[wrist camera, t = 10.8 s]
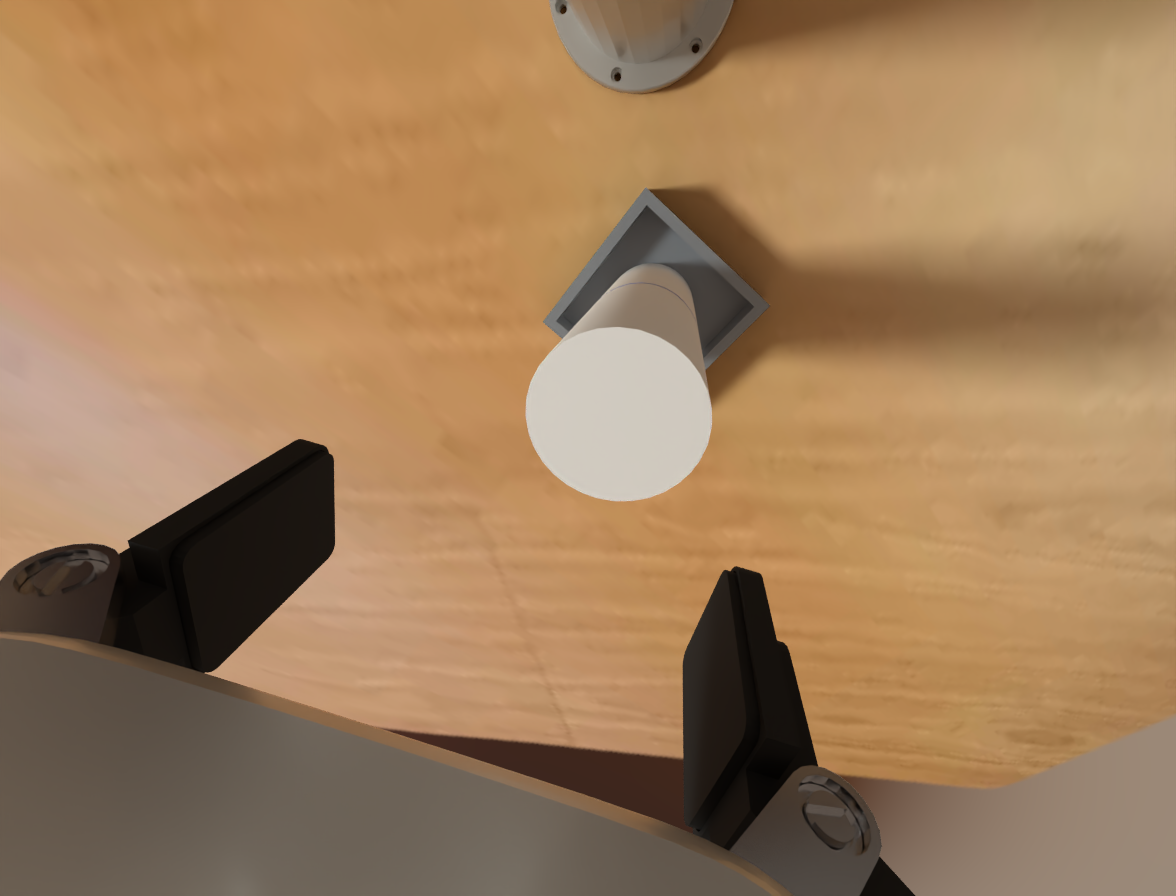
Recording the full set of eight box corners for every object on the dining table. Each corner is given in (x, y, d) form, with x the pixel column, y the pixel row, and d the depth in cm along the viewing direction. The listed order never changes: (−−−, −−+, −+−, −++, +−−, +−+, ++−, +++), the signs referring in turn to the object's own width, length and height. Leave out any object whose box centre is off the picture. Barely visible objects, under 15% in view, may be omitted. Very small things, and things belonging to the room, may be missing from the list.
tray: (648, 189, 38) (645, 187, 35) (763, 298, 40) (770, 305, 37) (552, 314, 44) (542, 321, 40) (657, 404, 46) (656, 418, 42)
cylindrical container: (711, 310, 40) (752, 429, 18) (646, 367, 43) (613, 530, 21) (653, 243, 39) (619, 282, 17) (590, 306, 42) (489, 413, 19)
